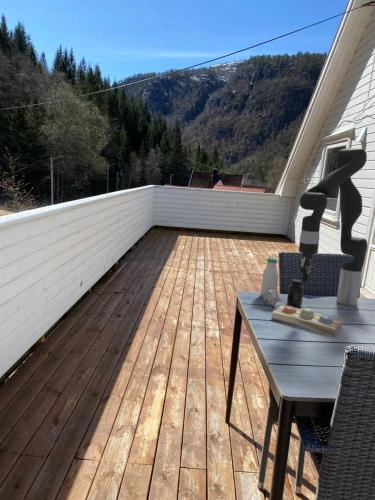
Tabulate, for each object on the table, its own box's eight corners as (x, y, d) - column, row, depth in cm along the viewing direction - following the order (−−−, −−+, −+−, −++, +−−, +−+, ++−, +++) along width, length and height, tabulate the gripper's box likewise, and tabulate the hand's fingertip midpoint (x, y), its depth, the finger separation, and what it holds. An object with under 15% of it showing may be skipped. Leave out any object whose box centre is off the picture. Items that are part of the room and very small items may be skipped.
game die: (273, 313, 160) (288, 298, 157) (265, 310, 154) (280, 295, 151) (261, 299, 166) (276, 285, 163) (253, 296, 159) (268, 281, 156)
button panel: (282, 311, 153) (282, 304, 152) (341, 326, 138) (342, 319, 138) (271, 318, 143) (272, 311, 142) (334, 336, 129) (335, 328, 128)
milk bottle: (276, 300, 168) (280, 260, 164) (260, 298, 169) (264, 259, 165) (275, 295, 175) (279, 257, 171) (260, 293, 176) (264, 256, 173)
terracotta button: (285, 312, 148) (286, 305, 147) (295, 314, 145) (296, 307, 145) (281, 315, 144) (282, 307, 144) (292, 317, 142) (292, 310, 141)
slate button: (320, 321, 139) (321, 314, 139) (332, 324, 137) (333, 317, 136) (317, 324, 136) (318, 317, 135) (329, 328, 133) (330, 320, 132)
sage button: (302, 314, 143) (303, 307, 143) (313, 317, 141) (314, 309, 140) (299, 317, 140) (300, 309, 139) (310, 320, 137) (311, 312, 137)
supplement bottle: (303, 304, 164) (306, 280, 161) (299, 308, 158) (302, 283, 156) (288, 301, 167) (291, 277, 165) (284, 304, 161) (287, 280, 159)
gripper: (305, 238, 148) (301, 276, 151) (294, 242, 137) (290, 283, 141) (323, 240, 143) (318, 279, 147) (313, 244, 133) (309, 287, 136)
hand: (304, 281), depth 144 cm, fingers closed
